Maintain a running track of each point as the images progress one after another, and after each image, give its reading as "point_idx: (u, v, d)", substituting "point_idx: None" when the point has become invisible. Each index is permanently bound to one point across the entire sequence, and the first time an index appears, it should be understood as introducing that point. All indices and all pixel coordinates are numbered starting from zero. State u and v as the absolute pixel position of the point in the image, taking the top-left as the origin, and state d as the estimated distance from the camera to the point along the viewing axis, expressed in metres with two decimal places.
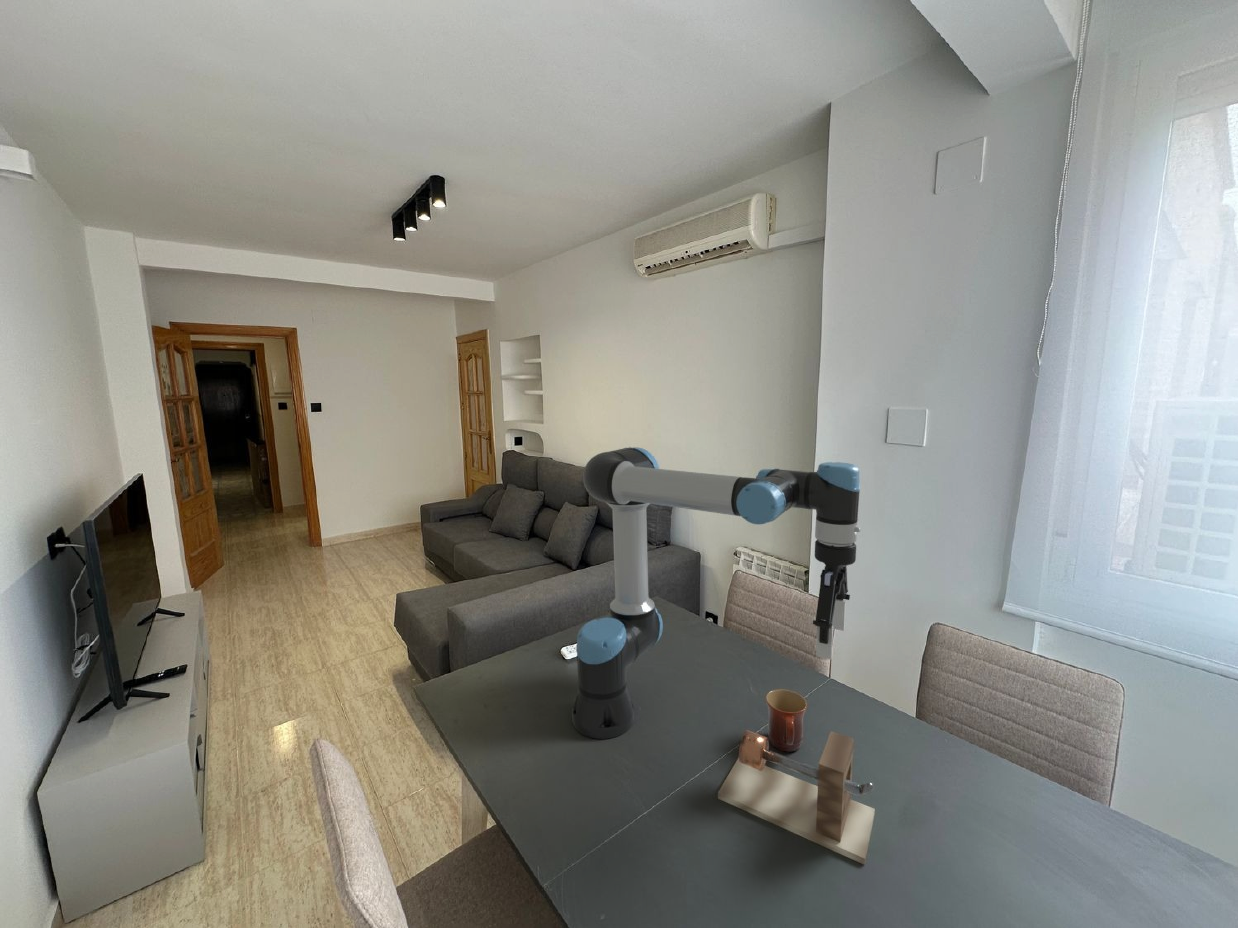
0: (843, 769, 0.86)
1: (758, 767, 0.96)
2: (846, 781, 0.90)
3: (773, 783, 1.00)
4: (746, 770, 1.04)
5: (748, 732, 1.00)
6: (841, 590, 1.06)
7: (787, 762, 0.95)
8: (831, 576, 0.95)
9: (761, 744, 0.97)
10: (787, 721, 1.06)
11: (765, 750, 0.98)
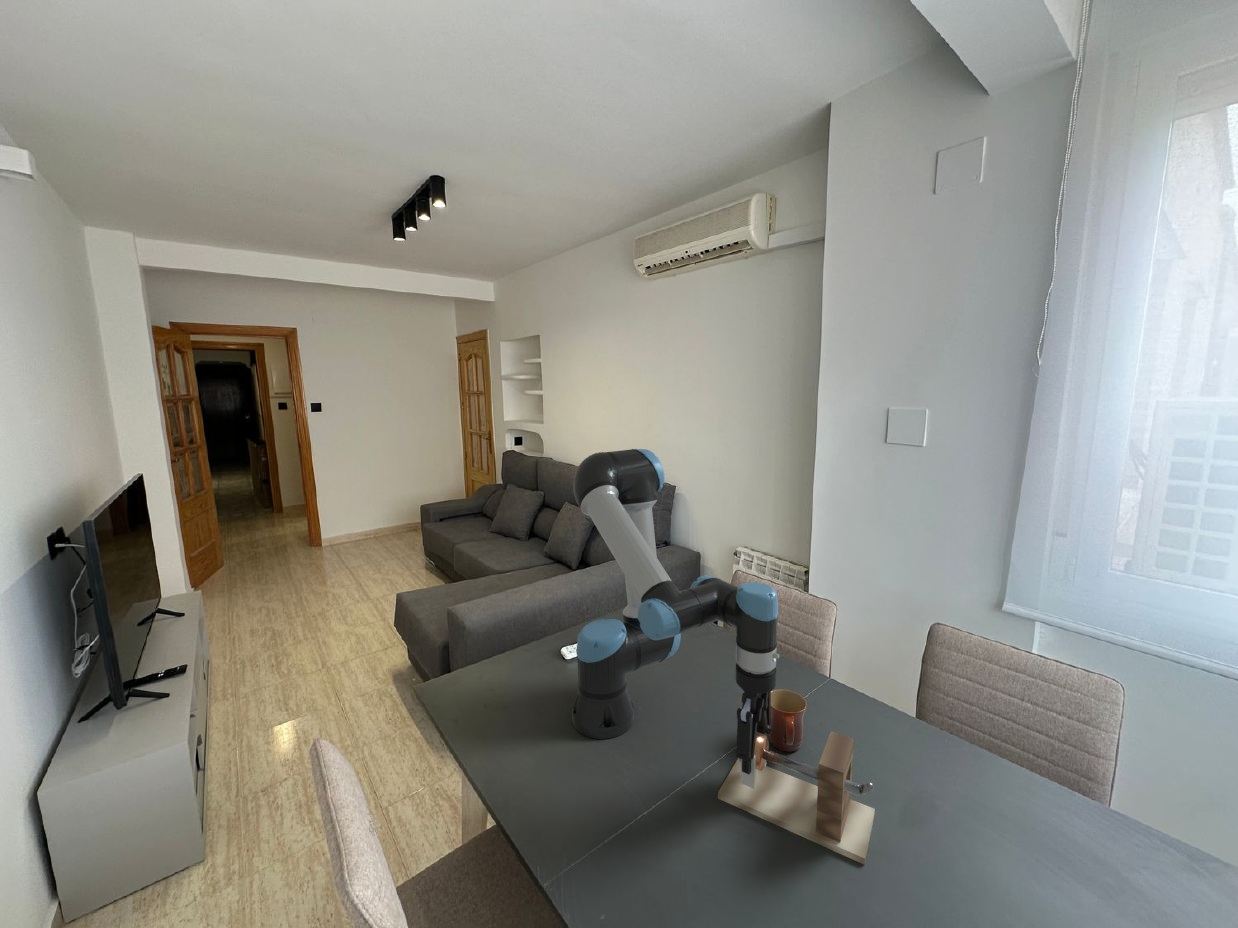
0: (843, 769, 0.86)
1: (758, 767, 0.96)
2: (846, 781, 0.90)
3: (773, 783, 1.00)
4: None
5: None
6: (762, 720, 1.01)
7: (787, 762, 0.95)
8: (746, 715, 0.92)
9: (761, 744, 0.97)
10: (787, 721, 1.06)
11: (765, 750, 0.98)
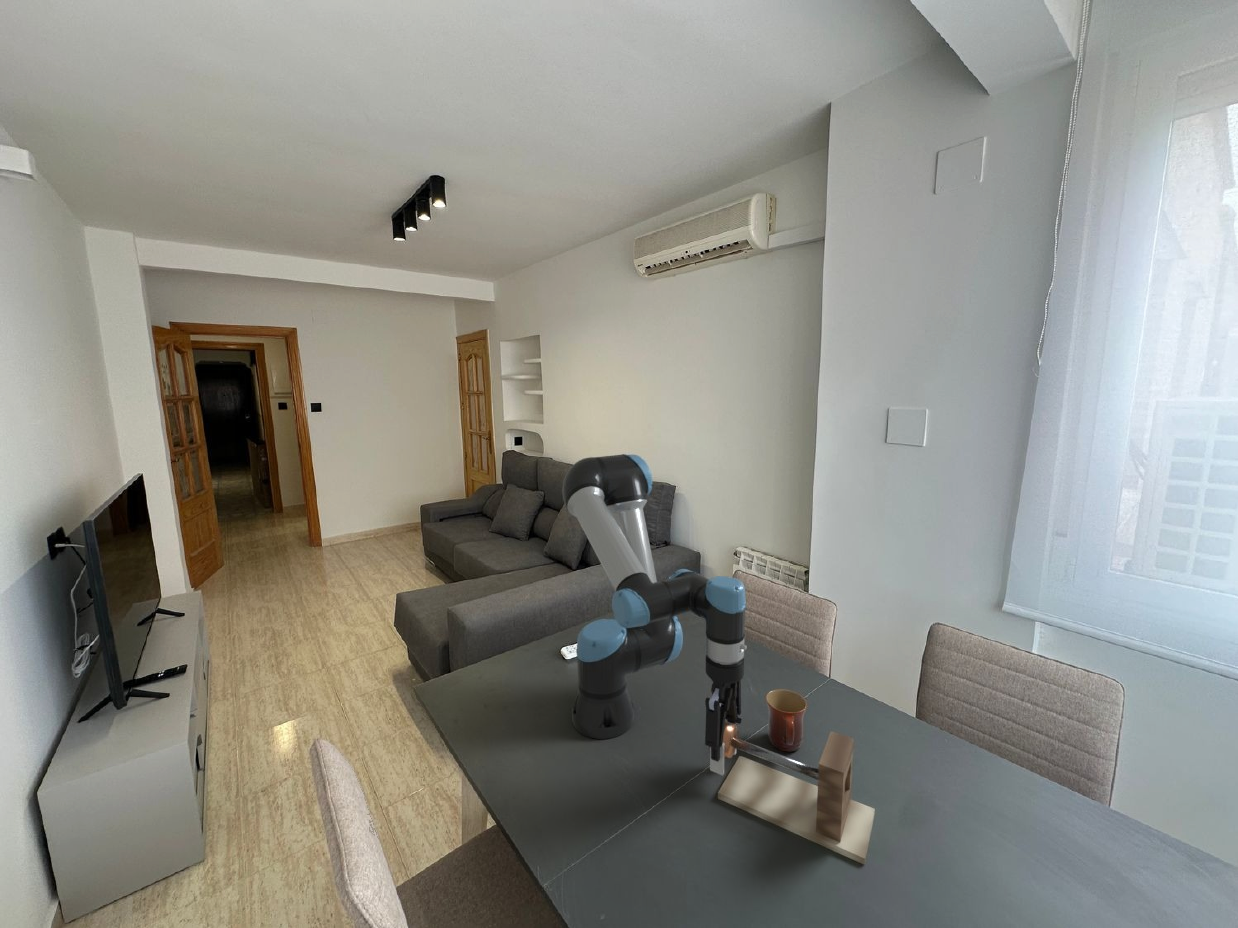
0: (843, 769, 0.86)
1: (727, 754, 1.00)
2: (809, 767, 0.93)
3: (773, 783, 1.00)
4: (746, 770, 1.04)
5: None
6: (732, 709, 1.04)
7: (754, 749, 0.99)
8: (714, 703, 0.96)
9: (730, 732, 1.01)
10: (787, 721, 1.06)
11: (734, 738, 1.02)
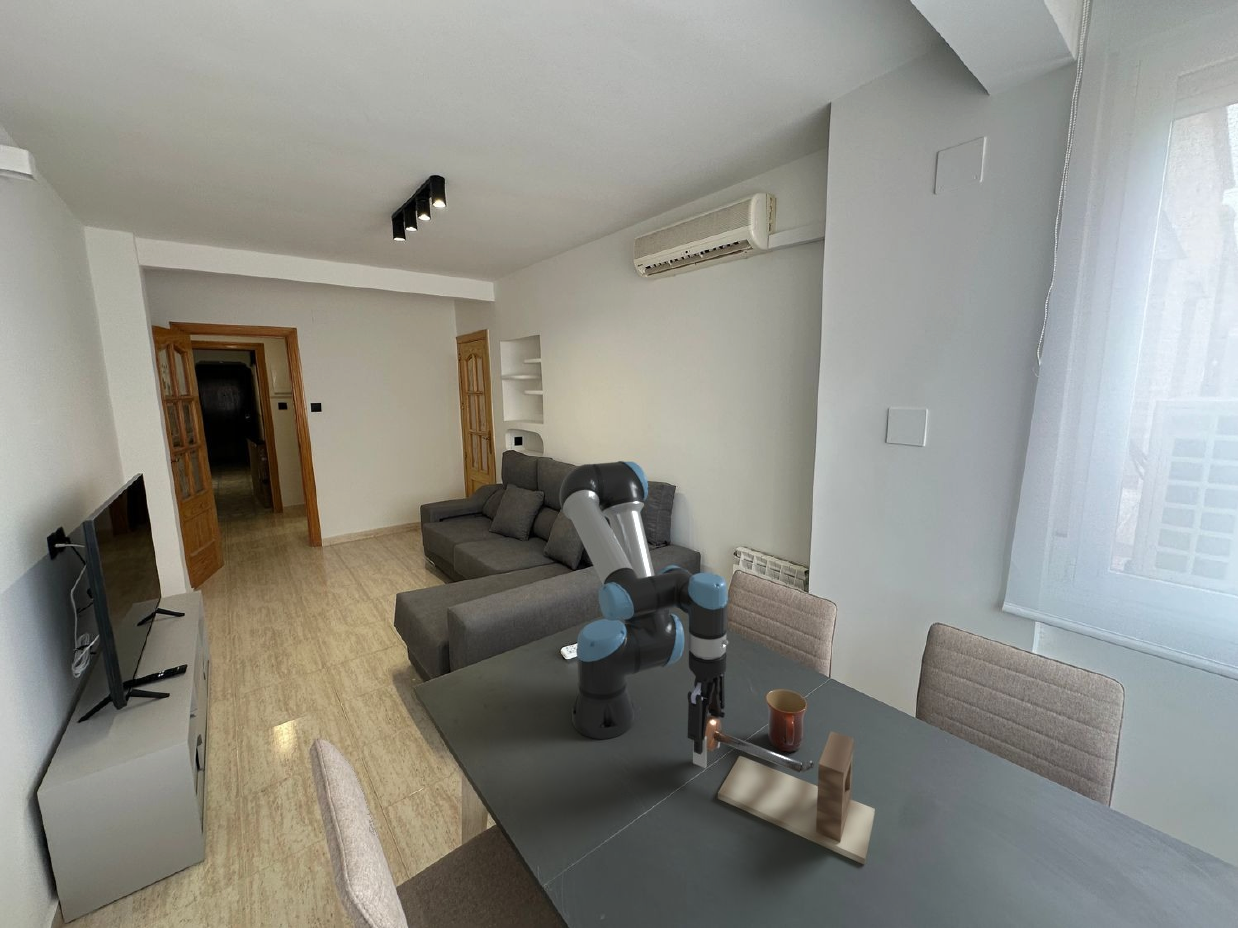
0: (843, 769, 0.86)
1: (709, 747, 1.02)
2: (789, 759, 0.96)
3: (773, 783, 1.00)
4: (746, 770, 1.04)
5: None
6: (715, 703, 1.06)
7: (736, 742, 1.01)
8: (696, 697, 0.98)
9: (712, 726, 1.03)
10: (787, 721, 1.06)
11: (717, 732, 1.04)
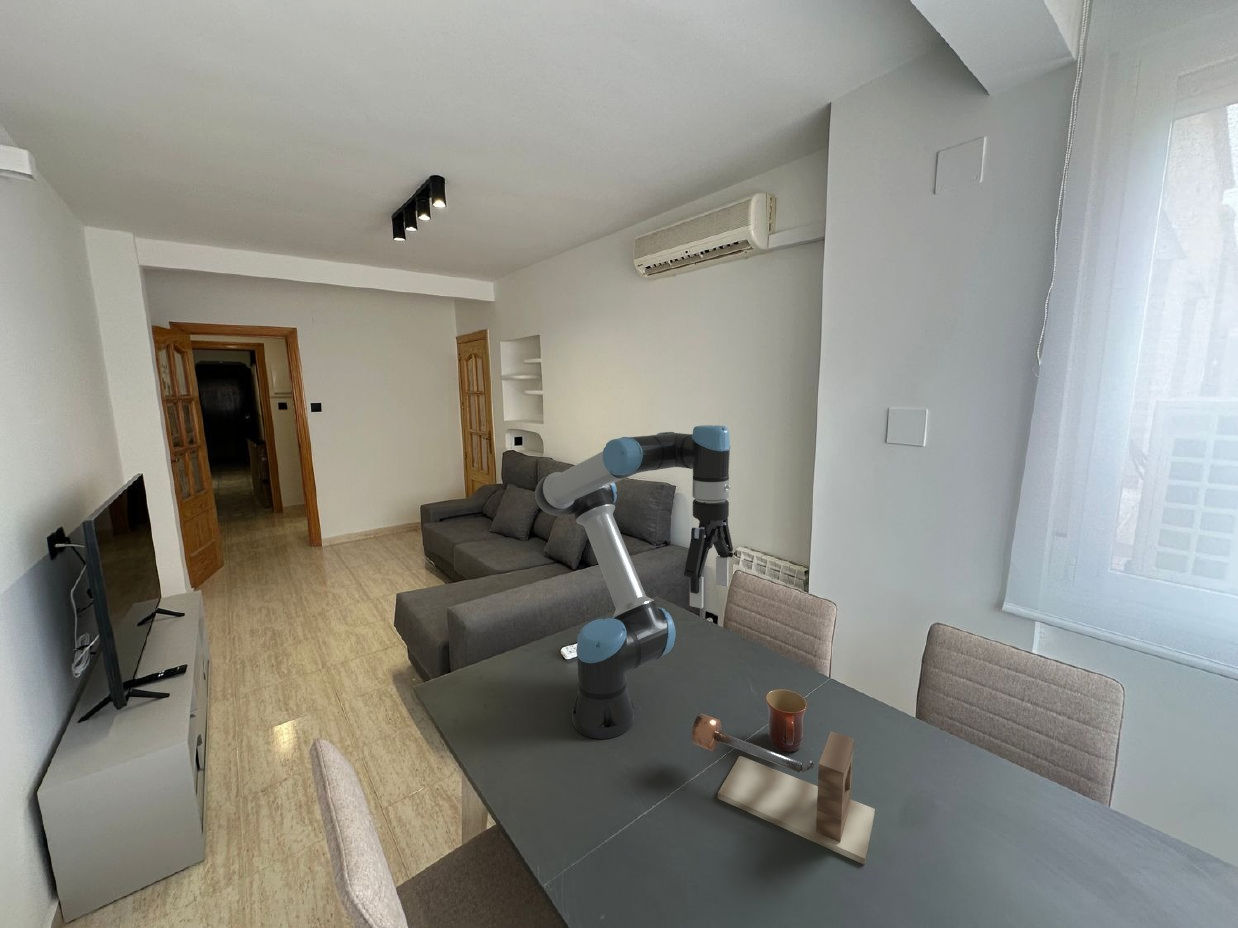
0: (843, 769, 0.86)
1: (709, 747, 1.02)
2: (789, 759, 0.96)
3: (773, 783, 1.00)
4: (746, 770, 1.04)
5: (701, 715, 1.06)
6: (722, 547, 1.12)
7: (736, 742, 1.01)
8: (700, 530, 1.01)
9: (712, 726, 1.03)
10: (787, 721, 1.06)
11: (716, 732, 1.04)
